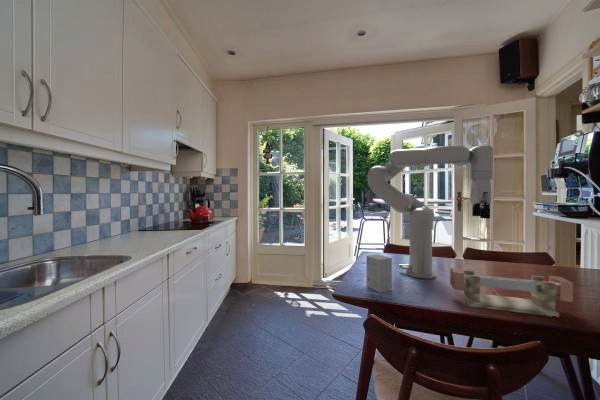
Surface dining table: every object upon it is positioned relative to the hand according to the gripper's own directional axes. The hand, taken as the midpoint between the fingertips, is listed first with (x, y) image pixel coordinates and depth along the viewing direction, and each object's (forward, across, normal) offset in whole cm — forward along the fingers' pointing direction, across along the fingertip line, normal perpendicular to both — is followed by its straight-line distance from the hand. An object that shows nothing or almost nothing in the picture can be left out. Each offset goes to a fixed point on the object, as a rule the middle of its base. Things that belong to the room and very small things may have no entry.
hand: (480, 217), depth 104 cm
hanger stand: (+28, +20, +2) cm, 35 cm away
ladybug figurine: (+29, -4, +25) cm, 38 cm away
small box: (+29, +18, -40) cm, 52 cm away
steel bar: (+24, +20, +2) cm, 31 cm away
